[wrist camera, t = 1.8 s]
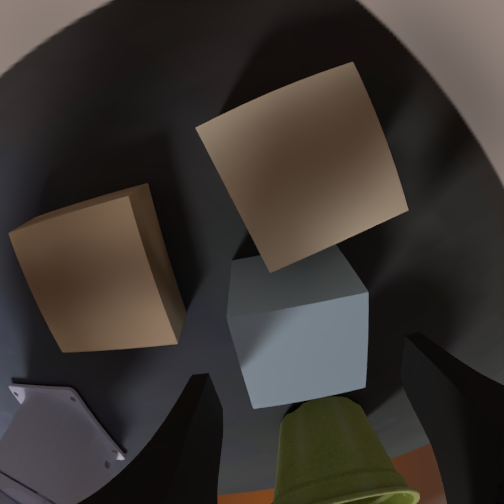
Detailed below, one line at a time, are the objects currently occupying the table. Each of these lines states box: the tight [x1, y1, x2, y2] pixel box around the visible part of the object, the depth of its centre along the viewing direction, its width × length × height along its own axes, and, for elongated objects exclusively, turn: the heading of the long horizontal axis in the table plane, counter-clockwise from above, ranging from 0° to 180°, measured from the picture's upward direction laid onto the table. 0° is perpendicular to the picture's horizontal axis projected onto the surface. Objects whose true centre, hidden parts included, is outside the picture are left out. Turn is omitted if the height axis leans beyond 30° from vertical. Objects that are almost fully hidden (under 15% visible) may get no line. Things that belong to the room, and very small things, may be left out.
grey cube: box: [227, 244, 369, 409], centre depth 14 cm, size 5×5×5 cm
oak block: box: [8, 183, 186, 353], centre depth 14 cm, size 7×7×3 cm
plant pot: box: [272, 396, 420, 504], centre depth 16 cm, size 9×9×9 cm
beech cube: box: [196, 62, 408, 273], centre depth 11 cm, size 5×5×5 cm
